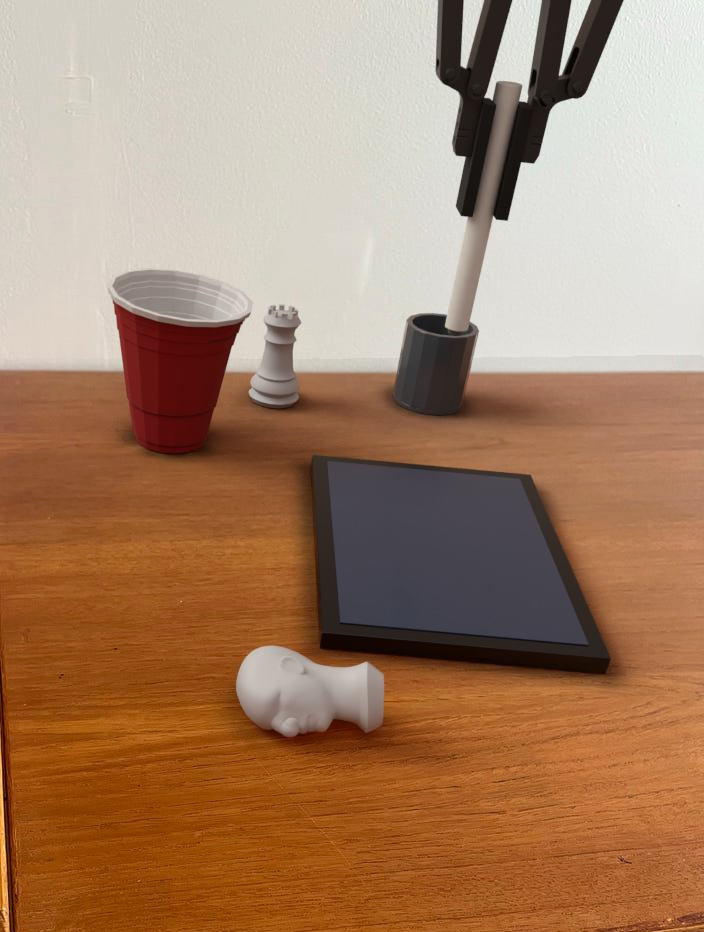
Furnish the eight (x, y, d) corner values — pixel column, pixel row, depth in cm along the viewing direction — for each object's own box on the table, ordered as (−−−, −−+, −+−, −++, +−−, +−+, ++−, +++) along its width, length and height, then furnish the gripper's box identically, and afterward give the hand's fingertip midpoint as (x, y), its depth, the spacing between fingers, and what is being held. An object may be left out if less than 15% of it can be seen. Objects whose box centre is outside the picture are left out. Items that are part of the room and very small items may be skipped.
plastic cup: (220, 480, 77) (233, 322, 70) (84, 453, 79) (84, 297, 72) (254, 425, 86) (269, 280, 79) (131, 402, 88) (135, 258, 81)
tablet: (527, 488, 80) (531, 473, 80) (605, 674, 61) (612, 657, 60) (310, 468, 80) (312, 453, 80) (319, 648, 61) (322, 631, 60)
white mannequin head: (222, 741, 55) (250, 667, 58) (369, 778, 53) (390, 700, 56) (219, 695, 52) (249, 619, 55) (376, 733, 50) (398, 652, 53)
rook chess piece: (300, 393, 93) (311, 304, 88) (296, 412, 89) (307, 320, 84) (251, 387, 93) (260, 297, 88) (244, 406, 89) (253, 314, 85)
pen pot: (456, 391, 96) (472, 316, 92) (466, 418, 91) (483, 340, 87) (390, 385, 96) (403, 310, 92) (396, 411, 91) (410, 333, 87)
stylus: (464, 331, 73) (520, 82, 64) (468, 338, 71) (524, 86, 62) (442, 328, 73) (494, 79, 64) (444, 336, 71) (498, 83, 62)
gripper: (453, -288, 51) (373, 216, 64) (750, -258, 51) (606, 239, 64) (436, -267, 57) (366, 189, 70) (700, -240, 57) (579, 211, 70)
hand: (481, 212), depth 67 cm, fingers closed on stylus, 2 cm apart
